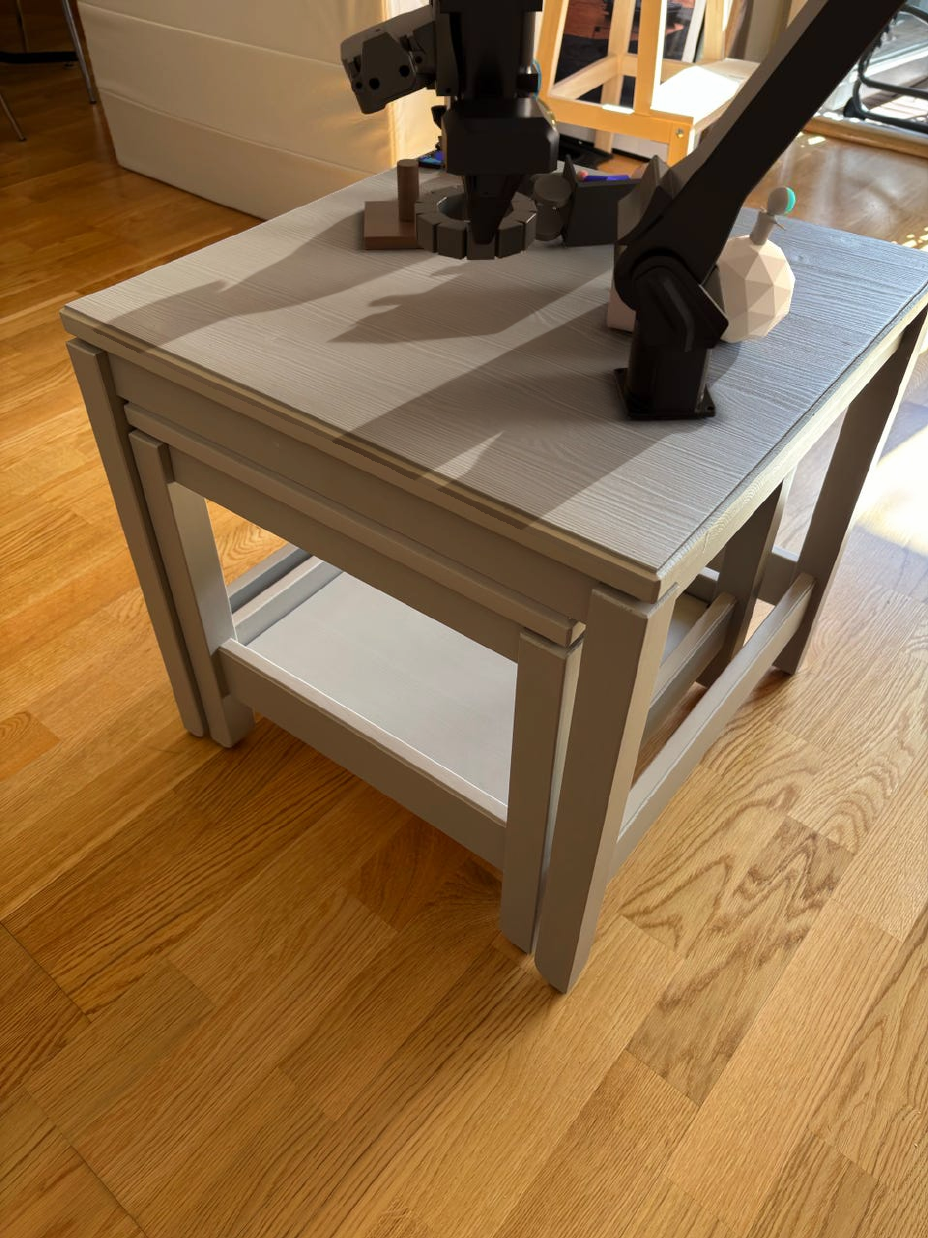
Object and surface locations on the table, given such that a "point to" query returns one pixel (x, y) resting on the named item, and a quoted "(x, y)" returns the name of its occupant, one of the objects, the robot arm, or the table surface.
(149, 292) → the table surface
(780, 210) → the perfume bottle
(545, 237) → the character figurine
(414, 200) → the stand
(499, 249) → the ring
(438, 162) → the pixel art figurine
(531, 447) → the table surface
